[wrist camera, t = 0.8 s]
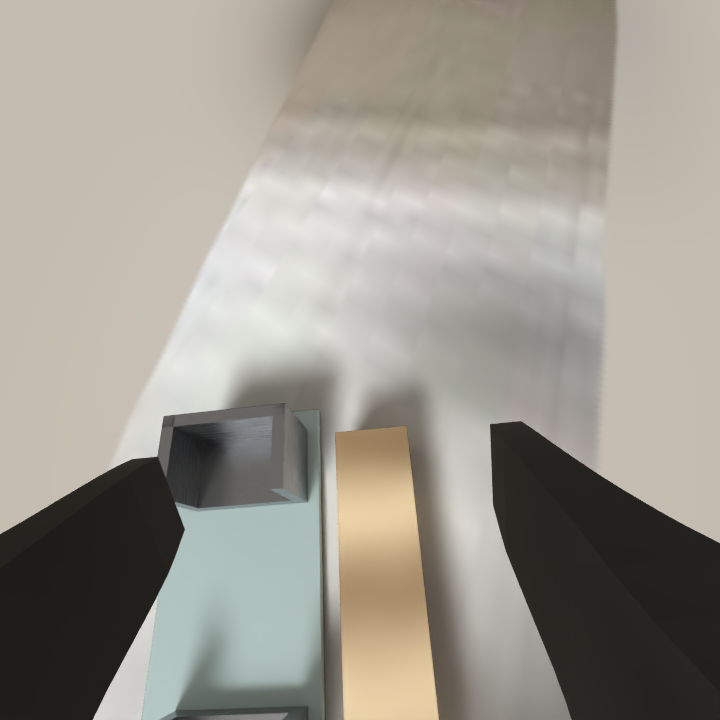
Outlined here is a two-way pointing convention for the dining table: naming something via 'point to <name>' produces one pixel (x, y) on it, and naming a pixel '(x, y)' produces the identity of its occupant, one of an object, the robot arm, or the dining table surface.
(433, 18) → the dining table surface
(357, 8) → the dining table surface
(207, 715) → the bracket
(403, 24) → the dining table surface
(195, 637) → the board
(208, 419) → the bracket
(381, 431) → the rail
